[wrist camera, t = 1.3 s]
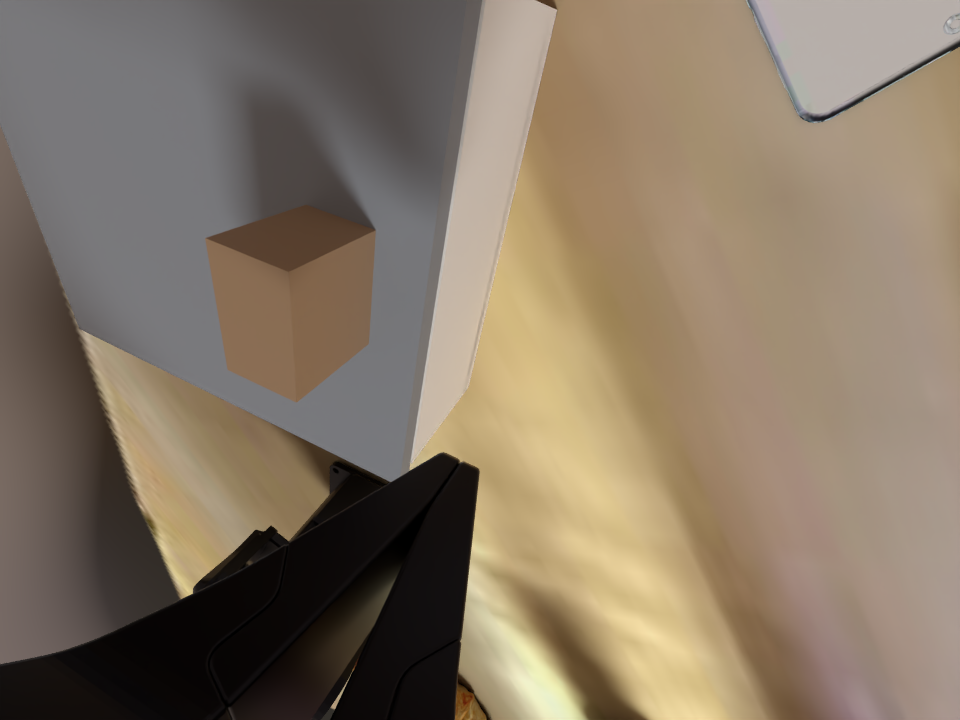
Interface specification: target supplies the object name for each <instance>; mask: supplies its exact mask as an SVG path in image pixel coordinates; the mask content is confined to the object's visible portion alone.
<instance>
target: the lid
mask: <svg viewBox="0 0 960 720" xmlns="http://www.w3.org/2000/svg"><path fill="white" fill-rule="evenodd" d="M481 5H482V0H0V126H1V128H2V131H3V133H4V136H5V138H6V141H7V144H8V146H9V149H10V151H11V154H12V156H13V159H14V162H15V164H16V167H17V169H18V172H19V174H20V177H21V180H22V182H23V185H24V187H25V190H26V192H27V195H28V197H29V200H30V203H31V205H32V208H33V210H34V213H35V215H36V218H37V221H38V223H39V226H40V228H41V231H42V233H43V236H44V239H45V241H46V244H47V246H48V249H49V251H50V254H51V257H52V259H53V262H54V264H55V267H56V269H57V272H58V275H59V277H60V280H61V282H62V285H63V287H64V290H65V293H66V295H67V298H68V300H69V303H70V305H71V308H72V311H73V313H74V316H75V318H76V321H77V323H78V326H79V329H81V330H83V331H85V332H87V333H89V334H91V335H93V336H95V337H97V338H99V339H101V340H103V341H105V342H107V343H109V344H111V345H113V346H115V347H117V348H120V349H122V350H124V351H126V352H128V353H130V354H132V355H134V356H136V357H138V358H140V359H142V360H144V361H146V362H148V363H150V364H152V365H154V366H156V367H158V368H160V369H162V370H164V371H166V372H168V373H170V374H172V375H174V376H176V377H178V378H180V379H182V380H184V381H186V382H189V383H191V384H193V385H195V386H197V387H199V388H201V389H203V390H205V391H207V392H209V393H211V394H213V395H215V396H217V397H219V398H221V399H223V400H225V401H227V402H229V403H231V404H233V405H235V406H237V407H239V408H241V409H243V410H245V411H247V412H249V413H251V414H253V415H255V416H258V417H260V418H262V419H264V420H266V421H268V422H270V423H272V424H274V425H276V426H278V427H280V428H282V429H284V430H286V431H288V432H290V433H292V434H294V435H296V436H298V437H300V438H302V439H304V440H306V441H308V442H310V443H312V444H314V445H316V446H318V447H320V448H322V449H325V450H327V451H329V452H331V453H333V454H335V455H337V456H339V457H341V458H343V459H345V460H347V461H349V462H351V463H353V464H355V465H357V466H359V467H361V468H363V469H365V470H367V471H369V472H371V473H373V474H375V475H377V476H379V477H381V478H383V479H385V480H387V481H389V482H392V481H393V480H395V479H397V478H399V477H400V476H402V475H404V474H405V473H407V472H409V467H410V461H411V455H412V448H413V442H414V435H415V429H416V423H417V416H418V410H419V403H420V397H421V390H422V384H423V378H424V371H425V365H426V358H427V352H428V345H429V339H430V333H431V326H432V320H433V313H434V307H435V300H436V294H437V288H438V281H439V275H440V268H441V262H442V256H443V249H444V243H445V236H446V230H447V223H448V217H449V211H450V204H451V198H452V191H453V185H454V178H455V172H456V166H457V159H458V153H459V146H460V140H461V133H462V127H463V121H464V114H465V108H466V101H467V95H468V89H469V82H470V76H471V69H472V63H473V56H474V50H475V44H476V37H477V31H478V24H479V18H480V11H481Z"/></svg>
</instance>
